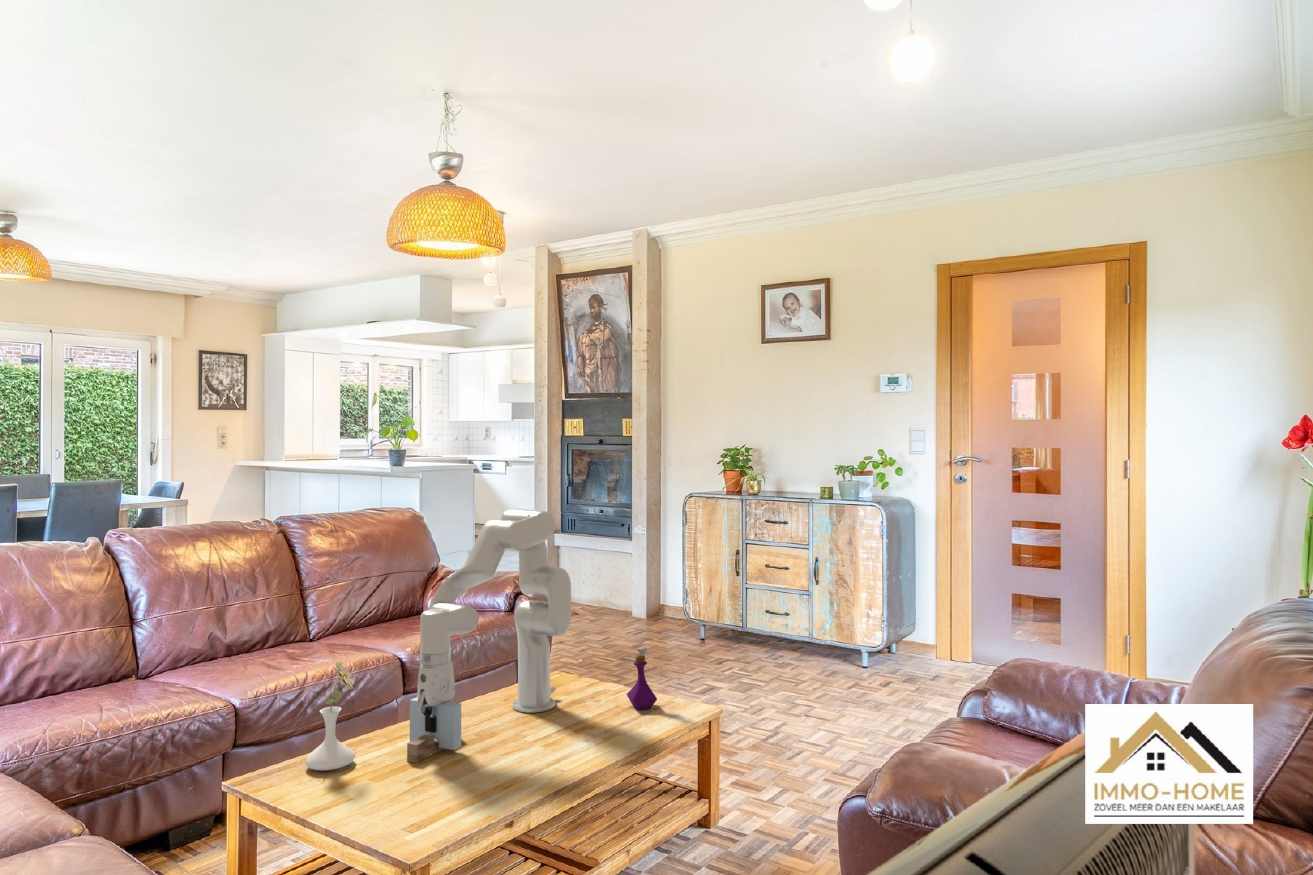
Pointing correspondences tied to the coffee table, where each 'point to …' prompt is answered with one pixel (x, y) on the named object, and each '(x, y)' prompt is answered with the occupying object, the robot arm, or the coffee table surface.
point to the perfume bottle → (641, 686)
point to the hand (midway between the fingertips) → (435, 728)
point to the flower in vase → (332, 732)
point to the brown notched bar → (422, 748)
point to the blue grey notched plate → (438, 724)
